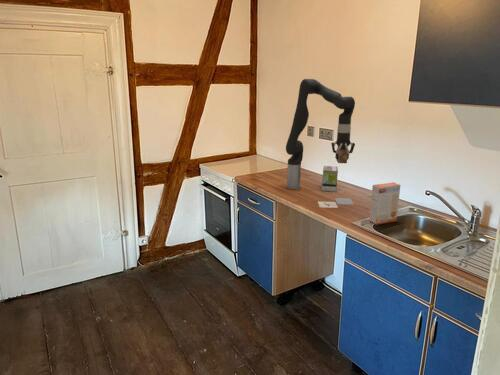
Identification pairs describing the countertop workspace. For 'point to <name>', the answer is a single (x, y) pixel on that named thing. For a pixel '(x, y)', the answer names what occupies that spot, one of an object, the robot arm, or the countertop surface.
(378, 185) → the cracker box
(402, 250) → the countertop surface
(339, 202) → the slate pad
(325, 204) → the card
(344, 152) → the walnut block
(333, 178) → the tea box
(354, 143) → the robot arm
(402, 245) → the countertop surface
